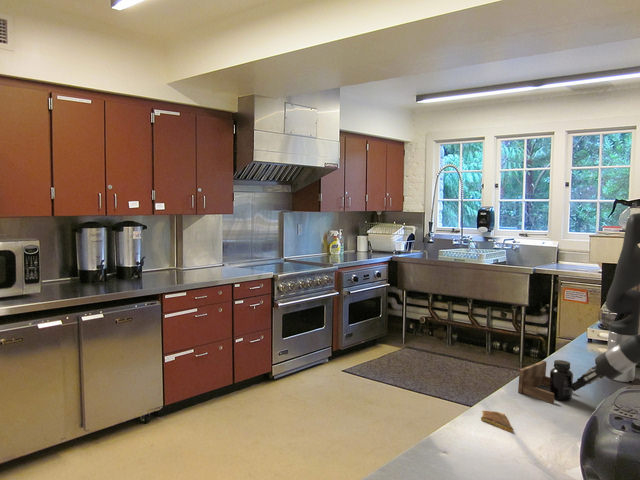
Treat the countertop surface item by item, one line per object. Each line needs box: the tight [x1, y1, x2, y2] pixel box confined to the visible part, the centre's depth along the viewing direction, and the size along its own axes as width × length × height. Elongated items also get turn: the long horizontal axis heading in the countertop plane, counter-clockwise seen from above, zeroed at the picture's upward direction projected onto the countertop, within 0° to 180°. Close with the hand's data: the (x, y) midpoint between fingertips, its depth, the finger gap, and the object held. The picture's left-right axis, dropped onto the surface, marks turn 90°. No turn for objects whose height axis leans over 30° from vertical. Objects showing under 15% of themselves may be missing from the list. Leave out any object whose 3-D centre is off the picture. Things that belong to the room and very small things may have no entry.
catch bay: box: [517, 360, 574, 404], centre depth 169 cm, size 16×11×8 cm
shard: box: [480, 410, 514, 433], centre depth 145 cm, size 11×8×2 cm
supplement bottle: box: [548, 359, 574, 402], centre depth 165 cm, size 7×7×12 cm
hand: (572, 388), depth 162 cm, fingers closed
